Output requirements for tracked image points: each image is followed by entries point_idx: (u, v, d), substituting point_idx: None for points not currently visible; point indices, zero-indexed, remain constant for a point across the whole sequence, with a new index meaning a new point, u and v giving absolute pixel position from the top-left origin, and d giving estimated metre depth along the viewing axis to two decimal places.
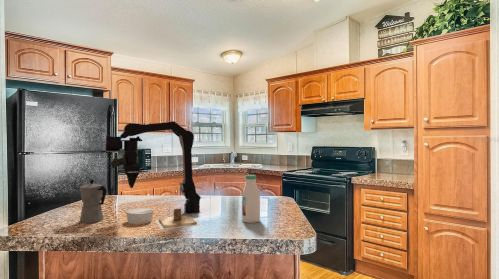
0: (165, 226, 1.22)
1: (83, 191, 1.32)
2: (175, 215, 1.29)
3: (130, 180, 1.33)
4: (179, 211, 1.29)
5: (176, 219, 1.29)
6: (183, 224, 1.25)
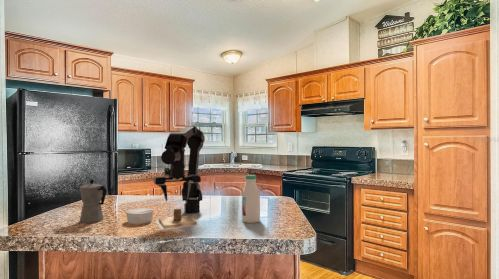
0: (165, 226, 1.22)
1: (83, 191, 1.32)
2: (175, 215, 1.29)
3: (163, 192, 1.28)
4: (179, 211, 1.29)
5: (176, 219, 1.29)
6: (183, 224, 1.25)
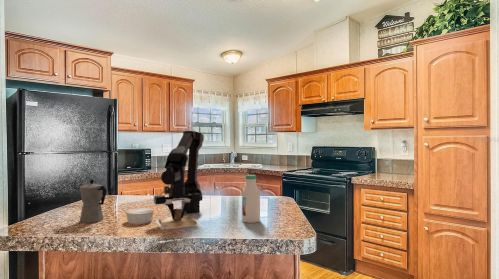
0: (165, 226, 1.22)
1: (83, 191, 1.32)
2: (175, 215, 1.29)
3: (170, 211, 1.29)
4: (179, 211, 1.29)
5: (176, 219, 1.29)
6: (183, 224, 1.25)
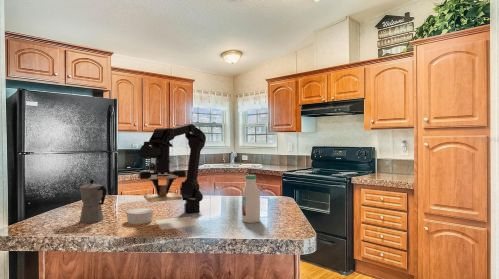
0: (150, 200, 1.22)
1: (83, 191, 1.32)
2: (160, 191, 1.29)
3: (155, 187, 1.30)
4: (164, 187, 1.30)
5: (161, 195, 1.29)
6: (168, 199, 1.26)
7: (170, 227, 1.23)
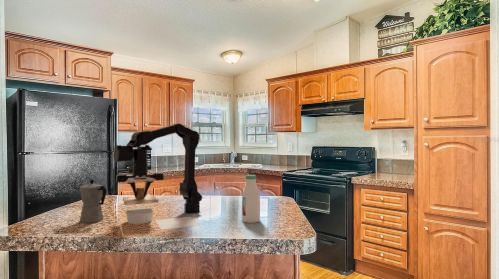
0: (125, 203, 1.24)
1: (83, 191, 1.32)
2: (137, 194, 1.31)
3: None
4: (141, 190, 1.31)
5: (138, 197, 1.31)
6: (144, 202, 1.27)
7: (170, 227, 1.23)
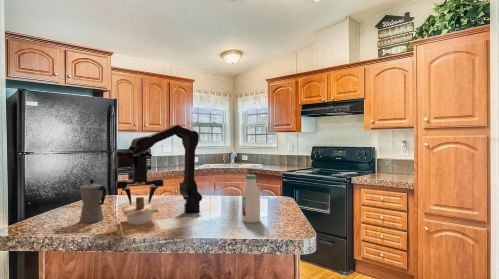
0: (125, 213, 1.24)
1: (83, 191, 1.32)
2: (137, 203, 1.31)
3: None
4: (141, 199, 1.31)
5: (138, 207, 1.31)
6: (144, 212, 1.27)
7: (170, 227, 1.23)
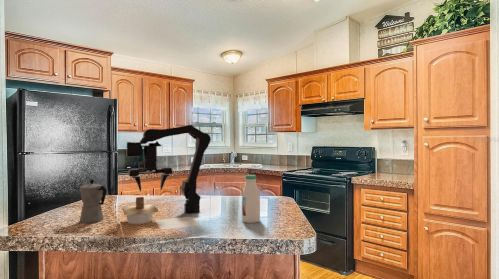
0: (125, 213, 1.24)
1: (83, 191, 1.32)
2: (137, 203, 1.31)
3: (137, 184, 1.40)
4: (141, 199, 1.31)
5: (138, 207, 1.31)
6: (144, 212, 1.27)
7: (170, 227, 1.23)
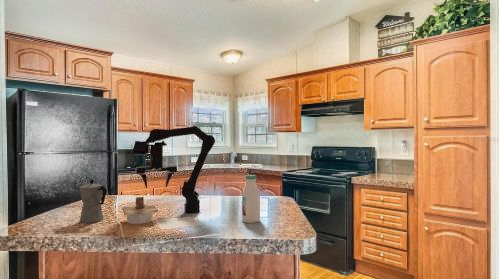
0: (125, 213, 1.24)
1: (83, 191, 1.32)
2: (137, 203, 1.31)
3: None
4: (141, 199, 1.32)
5: (138, 207, 1.31)
6: (144, 212, 1.27)
7: (170, 227, 1.23)
